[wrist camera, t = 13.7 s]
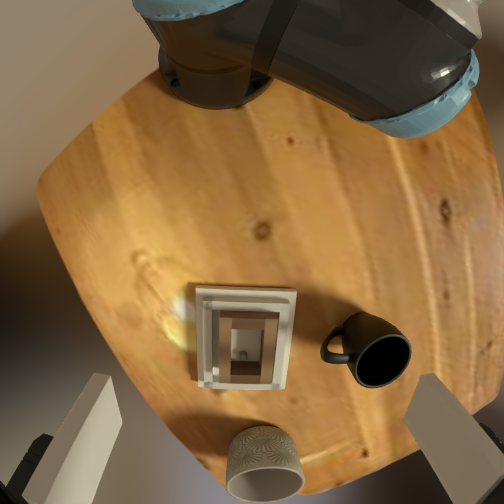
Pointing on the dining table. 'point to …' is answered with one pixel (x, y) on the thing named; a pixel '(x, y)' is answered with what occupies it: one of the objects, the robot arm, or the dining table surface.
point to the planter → (263, 466)
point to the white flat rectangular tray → (242, 331)
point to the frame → (264, 367)
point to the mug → (370, 350)
